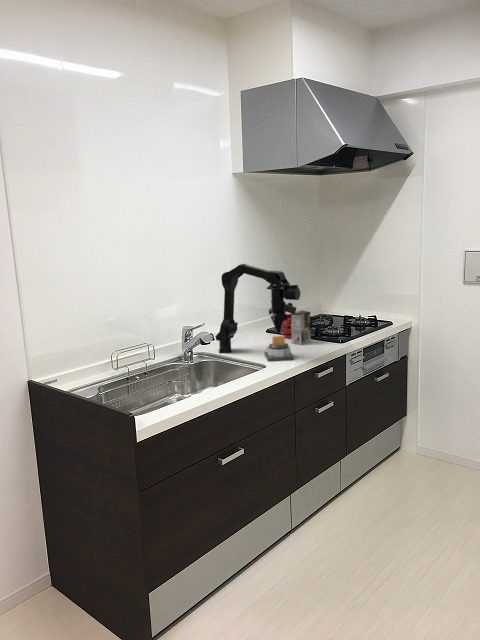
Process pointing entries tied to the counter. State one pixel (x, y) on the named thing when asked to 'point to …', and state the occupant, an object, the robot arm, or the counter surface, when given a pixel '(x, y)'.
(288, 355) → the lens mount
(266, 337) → the counter surface
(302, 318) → the coffee box
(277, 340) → the disc with orange block
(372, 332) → the counter surface
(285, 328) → the plant pot
